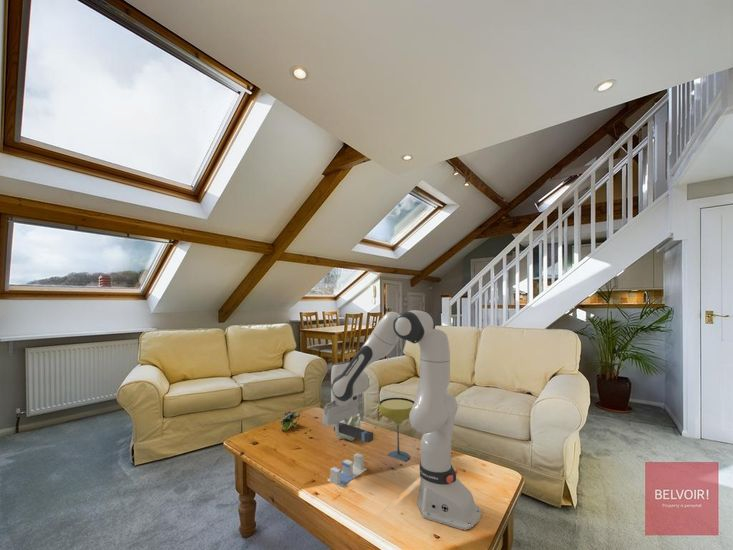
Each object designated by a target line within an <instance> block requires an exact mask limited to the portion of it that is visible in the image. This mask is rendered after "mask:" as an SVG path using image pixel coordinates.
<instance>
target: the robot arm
mask: <svg viewBox="0 0 733 550" xmlns="http://www.w3.org/2000/svg"><path fill="white" fill-rule="evenodd" d="M436 324H437V322H436V319H435V317H434V315H433V314H432V313H431V312H430V311H426V310H417V309H414V310H413V309H412V310H407V311H403V312H401V313H398V312H396V311H389V312H386V313H385V314H384V315H383V317H381V319H380V320H379V321H378V322H377V324H376V325H375V327H374V329H373V330H372V332H371V333H370V335H369V336H368V338H367V339H366V341H365V342H364V343H363V345H362V346H361V348H360V349H359V350H358V351H357V352H356V353H355V355H354V356H353V357H352V359H351V361H350V362H348V361H341V362H335V363H334V364H333V365H331V366H332V367H331V370H330V371H331V372H330V384H331V390H330V402H327V403H326V404H325V406H324V407H323V412H322V425H324V426H325V427H331V426H333V428H334V427H335V431H336V432H339V431H340V427H338V424H339V422H340V421H342V420H344V422H343V423H344V424H347V423H348V420H349V417H351V416H354V415H356V414H357V413H358V412H359V400H358V399H359V395H360V394H363V393H364V392H366V391H367V390H368V389H369V386H370V379H369V376H368V375H367V373H366V372H365V370H366V368H367V367H368V366H370V365H371V364H373V363H374V362H376V361H379V360H380V359H383V358H384V357H386V356H387V355H389V354H390V353H391V352H392V351H393V349H394V348H395V346H396V345H397V344H398V343H399V340H400V339H402V340H404V341H408V342H410V343H412V344H415V345H416V344H418V346H419V352H420V353H419V354H420V355H419V381H418V387H417V390H416V395H415V400H414V405H413V407H412V409H411V411H410V414H409V419H408V420H409V423H410V425H411V427H412V428H413V430H414V431H416V432H417V433H418V434H422V437H421V439H420V445H419V446H420V463H419V477H420V484H419V491H418V492H419V493H418V496H417V500H416V504H417V507H418V508H419V510H420V511H421V516H422V517H423V518H424V519H426V520H429V521H433V522H436V523H440V524H442V523H443V525H446V526H449V527H453V528H456V529H459V530H462V529H464V530H463V531H467V530H466V529H469V528H471V527H472V526H474V525H475V524H476V523H477V522H478V520H479V518H480V516H481V517H482V510H481V507H480V506H479V505H477V504H476V503H475V501H474V496H473V493H472V492H471V491H470V490H469V489H468V487H467V486H466V485H465V484H464V483H462V482H461V480H460V479H459V478H458V477H457V474H458V473H459V469H458V468H457V469H454V467H453V465H452V440H453V439H452V438H453V432H454V425H455V418H456V415H457V412H458V408H459V406H458V405H459V404H458V401H457V399H456V397H455V396H454V395H453V394H452V393H451V392H448V391H447V390H448V388H449V385H450V382H451V353H450V343H449V339H448V335H447V333H445V332H444V331H443V330H442V329H438V328H437V329H436V326H437V325H436ZM335 431H334V432H335ZM480 519H481V518H480ZM479 521H480V520H479ZM478 523H479V522H478ZM478 523H477V524H478ZM469 524H470V525H469ZM477 524H476V525H477ZM476 525H475V526H476ZM475 526H474V527H475ZM471 529H472V528H471ZM469 530H470V529H469Z"/></svg>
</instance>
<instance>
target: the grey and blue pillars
mask: <svg viewBox="0 0 733 550" xmlns="http://www.w3.org/2000/svg"><path fill="white" fill-rule="evenodd" d="M352 458H353V461H352V460H350V459H345V460H343V461H341V465H342V469H341V468H339V467H337V466H335V465H334V466H333V467H331V468H330V469H329V478H328V479H327V481H328V482H330V483H332V484H334V485H336V486H339V487H340V488H342V487H343V486H345V485H347V484H349V483H350V482H351V481H354V479H355V478H357V477H358V476H359V475H361V474H362V473H364V472H366V471H367V470H368V468H366V467H365V455H362V454H360V453H354V454H353V455H352Z"/></svg>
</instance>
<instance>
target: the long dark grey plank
mask: <svg viewBox="0 0 733 550" xmlns="http://www.w3.org/2000/svg"><path fill="white" fill-rule="evenodd" d="M338 427H340V431H339V433H342V434H345V435H348V436H351V437H354V438H355V439H357V440H360V441H362V442H366V443H371V442H372V441H374V432H372V431H369V430H366V429H362V428H361V427H360V428H356V427H353V426H350V425H347V424H344V423H340V422H339V424H338ZM333 432H335V427H334V426H333Z"/></svg>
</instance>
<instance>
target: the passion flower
mask: <svg viewBox="0 0 733 550" xmlns="http://www.w3.org/2000/svg"><path fill="white" fill-rule="evenodd" d="M300 416H301V414H300V413H298V412H297V413H296V412H294V411H291V410H289V411H287V412H286V411H285V413H284V416H283V417H282V418H281V420H280V421H279V423H280V425H282V427H281V431H282V430H283V431H285V430H288V429H290V428H291V427H292V426H293V427H294V430H295V429H297V427H298V426H297V423H298V420H299V418H300ZM296 419H297V420H296ZM294 420H296V422H294ZM283 431H282V432H283Z"/></svg>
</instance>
